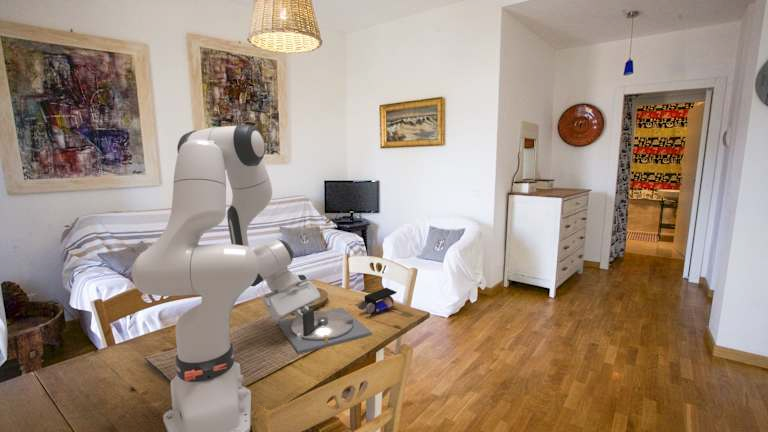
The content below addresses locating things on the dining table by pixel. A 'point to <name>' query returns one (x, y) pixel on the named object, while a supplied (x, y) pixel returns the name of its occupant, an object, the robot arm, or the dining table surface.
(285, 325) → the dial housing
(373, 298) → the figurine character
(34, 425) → the dining table surface
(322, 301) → the plant saucer
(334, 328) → the dial
